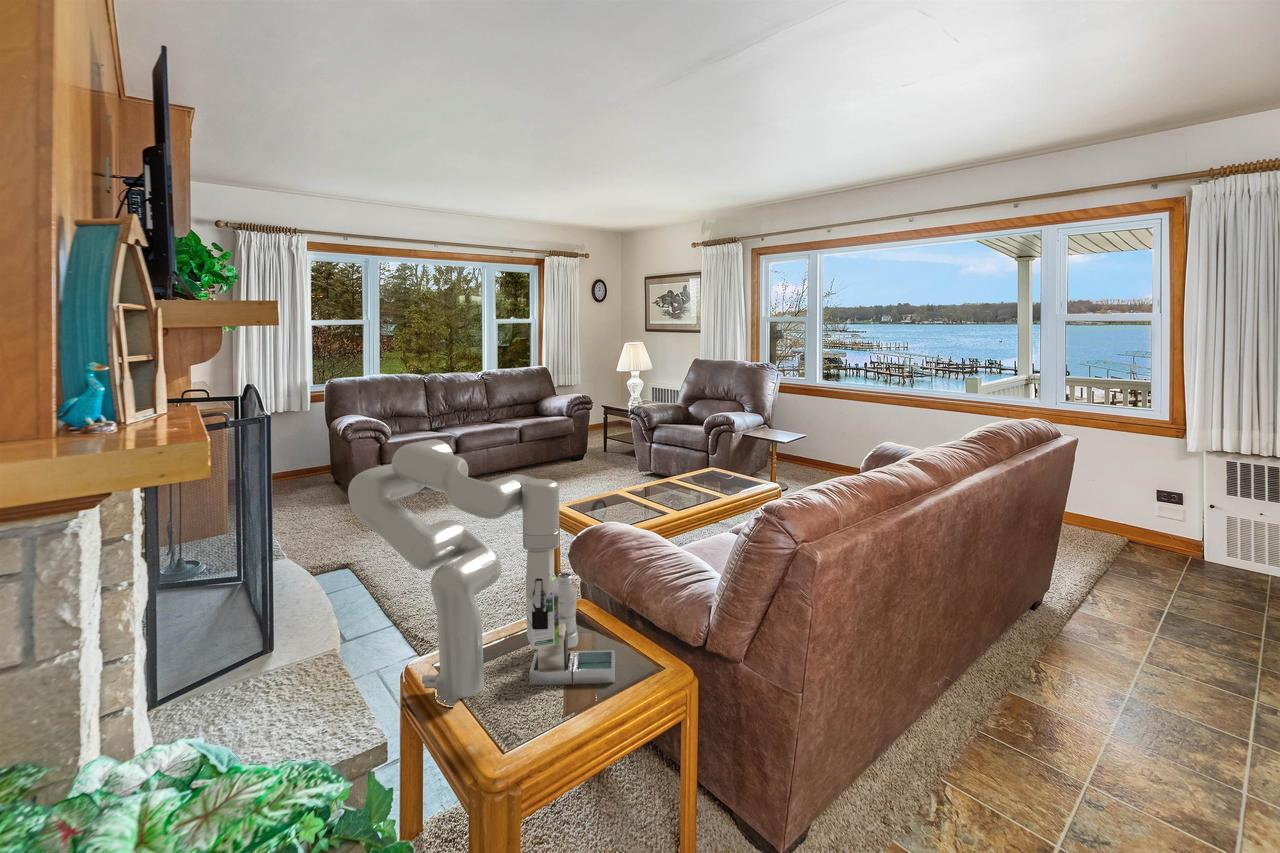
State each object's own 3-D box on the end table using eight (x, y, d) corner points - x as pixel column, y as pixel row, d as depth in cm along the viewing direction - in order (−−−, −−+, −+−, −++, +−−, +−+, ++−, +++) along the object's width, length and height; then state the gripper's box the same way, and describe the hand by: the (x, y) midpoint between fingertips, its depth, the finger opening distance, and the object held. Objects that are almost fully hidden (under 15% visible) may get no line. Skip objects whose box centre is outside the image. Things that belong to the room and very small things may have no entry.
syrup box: (532, 650, 126) (531, 582, 125) (526, 637, 132) (525, 572, 130) (559, 645, 129) (558, 579, 127) (552, 633, 134) (551, 569, 132)
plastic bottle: (580, 643, 164) (579, 571, 162) (575, 655, 157) (574, 580, 155) (557, 642, 165) (555, 570, 162) (551, 654, 158) (549, 579, 155)
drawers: (528, 691, 141) (528, 672, 140) (534, 669, 151) (534, 651, 150) (615, 688, 142) (615, 670, 141) (615, 666, 152) (615, 649, 151)
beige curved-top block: (538, 680, 143) (537, 635, 141) (541, 667, 149) (540, 624, 147) (566, 679, 143) (565, 634, 142) (568, 666, 149) (567, 623, 148)
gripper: (528, 527, 136) (530, 603, 138) (516, 553, 119) (518, 640, 121) (562, 526, 136) (563, 603, 138) (555, 552, 119) (556, 639, 121)
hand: (542, 619), depth 130 cm, fingers closed on syrup box, 7 cm apart
